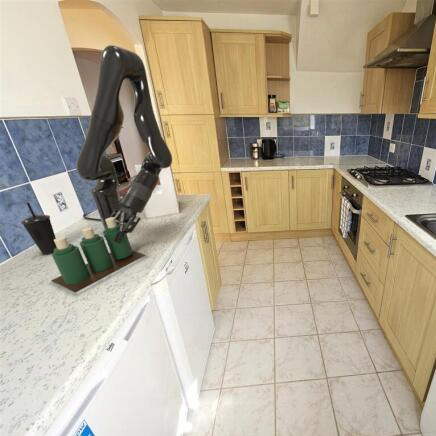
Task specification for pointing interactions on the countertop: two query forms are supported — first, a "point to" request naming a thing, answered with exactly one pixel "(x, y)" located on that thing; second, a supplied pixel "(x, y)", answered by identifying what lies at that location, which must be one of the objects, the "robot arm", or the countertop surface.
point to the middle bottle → (95, 251)
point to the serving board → (101, 274)
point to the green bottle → (116, 249)
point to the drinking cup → (40, 231)
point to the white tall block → (162, 195)
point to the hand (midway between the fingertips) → (111, 240)
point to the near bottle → (69, 262)
